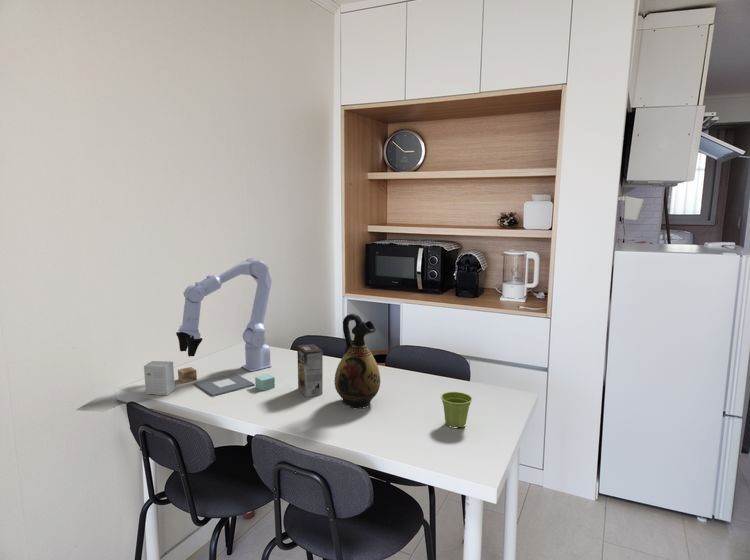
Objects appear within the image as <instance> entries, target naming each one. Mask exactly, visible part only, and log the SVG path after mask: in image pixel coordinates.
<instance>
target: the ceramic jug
mask: <svg viewBox="0 0 750 560" xmlns="http://www.w3.org/2000/svg"><path fill="white" fill-rule="evenodd" d="M343 318H344V319H343V321H342V331H343V336H344V340H345V346H346V347H345V349H344V353H343V356H342V357H341V359H340V361H339V363H338V365H337V367H336V371H335V375H334V388H335V391H336V393H337V394H338V396H340V398H341V399H342V403H343V404H344V406H345V407H348V408H351V409H353V408H357V409H364V408H363V407H365V408H368V407H367V406H370V405H371V402H372V400H373V399H374V398H375V397H376V395H377V394H378V392H379V390H380V388H381V387H380V386H381V374H380V370H379V365H378V363H377V361H376V359H375V357H374V356H373V354H372V352H371V350H370V349H369V348H368V346H367V343H365V342H366V341H365V337H366V336H368V335H370V334H374V333H376V331H377V328H376V327H375V325H374V323H373V322H372V321H371V320H368V321H366V322H365V321H363V320H362V318H361V317H360V316H359V315H358V314H355V313H350V314H348V315H346V316H345V317H343ZM350 321H354V322H355V325H354V327H353V328H352V329H351V331H350ZM351 334H353V335H354V337H353V340H352V336H351Z"/></svg>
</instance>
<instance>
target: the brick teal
mask: <svg viewBox="0 0 750 560" xmlns="http://www.w3.org/2000/svg"><path fill="white" fill-rule="evenodd" d="M254 380H255V381H254V382H255V383H254V384H255V386H254V387H255V388H256V389H259V390H260V391H262V392H264V391H267V390H271V389H275V388H276V386H275V385H276V384H275V380H276V379H275V376H272V375H270V374H269V373H266V374H262V375H257V376H255V377H254Z"/></svg>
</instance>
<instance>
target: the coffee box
mask: <svg viewBox="0 0 750 560" xmlns="http://www.w3.org/2000/svg"><path fill="white" fill-rule="evenodd" d="M296 347H297V388H298V390H299V391H300V392H301V393H302V394H303V395H304V396H305V397H306V398H308V397H313V396H319V395H323V391H324V390H323V385H324V384H323V381H324V379H323V375H324V374H323V366H324V365H323V356H324V355H323V354H324V353H323V350H322V349H321V348H320V347H318V346H317V345H316V344H314V343H311V344H301V345H297V346H296Z"/></svg>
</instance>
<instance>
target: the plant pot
mask: <svg viewBox="0 0 750 560" xmlns="http://www.w3.org/2000/svg"><path fill="white" fill-rule="evenodd" d="M440 398H441V400H442V404H443V412H444V421H445V422H444V423H445V425H447V426H448V427H449V426H451V427H450V428H452V427H460V428H462V426H464V425H465V424H467V420H468V414H469V410H470V406H471V402H472V401H473V397H472V396H471V395H470V394H468V393H464V392H461V391H449V392H448V391H447V392H444V393H442V394H441V395H440ZM465 426H466V425H465Z"/></svg>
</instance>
